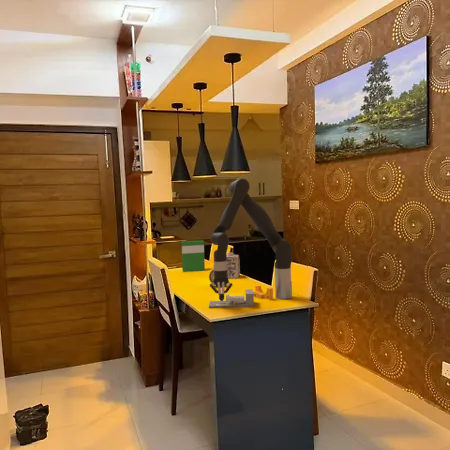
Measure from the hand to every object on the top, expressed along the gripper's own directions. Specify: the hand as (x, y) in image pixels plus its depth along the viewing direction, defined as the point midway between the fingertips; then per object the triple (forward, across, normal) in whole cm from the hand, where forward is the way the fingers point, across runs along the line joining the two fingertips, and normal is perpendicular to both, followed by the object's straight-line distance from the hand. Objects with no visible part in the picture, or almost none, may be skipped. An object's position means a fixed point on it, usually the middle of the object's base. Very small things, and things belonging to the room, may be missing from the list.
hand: (221, 300), depth 227 cm
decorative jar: (+3, -5, -80) cm, 80 cm away
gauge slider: (+1, -7, +1) cm, 8 cm away
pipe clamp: (+3, -24, -13) cm, 27 cm away
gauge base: (+2, -5, 0) cm, 6 cm away
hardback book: (+3, +26, -112) cm, 115 cm away
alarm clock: (+3, +4, -49) cm, 49 cm away
